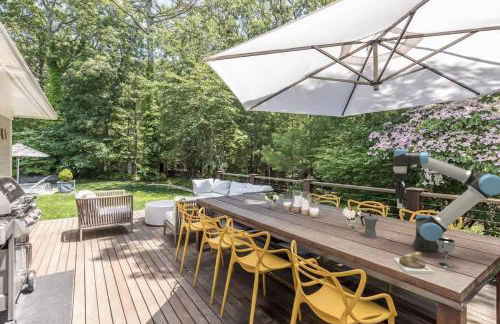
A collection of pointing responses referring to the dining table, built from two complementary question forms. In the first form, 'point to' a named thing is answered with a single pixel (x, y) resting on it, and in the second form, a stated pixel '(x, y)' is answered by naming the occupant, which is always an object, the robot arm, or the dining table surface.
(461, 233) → the dining table surface
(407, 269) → the base plate
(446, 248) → the wine glass
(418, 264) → the capstan dial
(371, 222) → the coffeepot
